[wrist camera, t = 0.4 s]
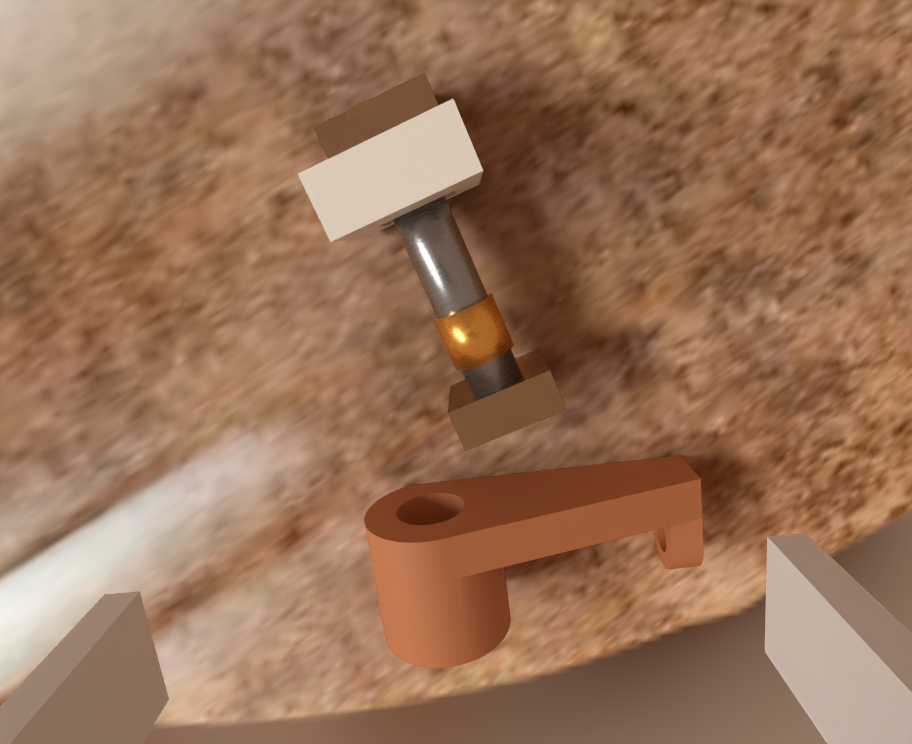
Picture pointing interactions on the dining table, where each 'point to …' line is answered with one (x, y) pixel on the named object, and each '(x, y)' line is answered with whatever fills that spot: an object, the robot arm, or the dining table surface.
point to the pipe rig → (455, 291)
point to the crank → (511, 544)
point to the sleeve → (393, 174)
